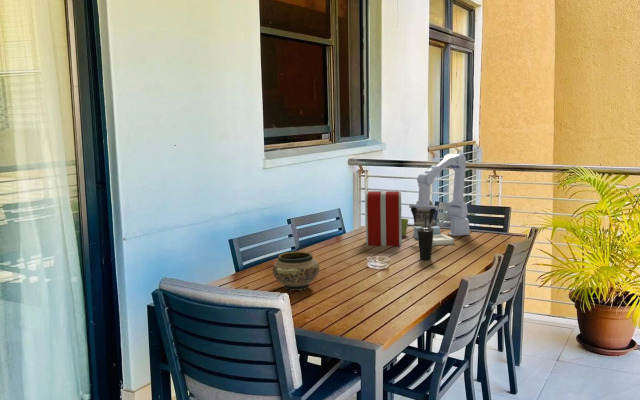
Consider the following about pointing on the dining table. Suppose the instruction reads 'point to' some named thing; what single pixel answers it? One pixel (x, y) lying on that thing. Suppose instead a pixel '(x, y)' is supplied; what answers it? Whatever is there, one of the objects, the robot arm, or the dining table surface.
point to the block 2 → (436, 229)
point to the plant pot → (404, 226)
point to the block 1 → (416, 231)
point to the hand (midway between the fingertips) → (422, 222)
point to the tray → (442, 239)
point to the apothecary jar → (421, 217)
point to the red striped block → (383, 218)
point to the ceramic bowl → (296, 270)
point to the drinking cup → (425, 242)
